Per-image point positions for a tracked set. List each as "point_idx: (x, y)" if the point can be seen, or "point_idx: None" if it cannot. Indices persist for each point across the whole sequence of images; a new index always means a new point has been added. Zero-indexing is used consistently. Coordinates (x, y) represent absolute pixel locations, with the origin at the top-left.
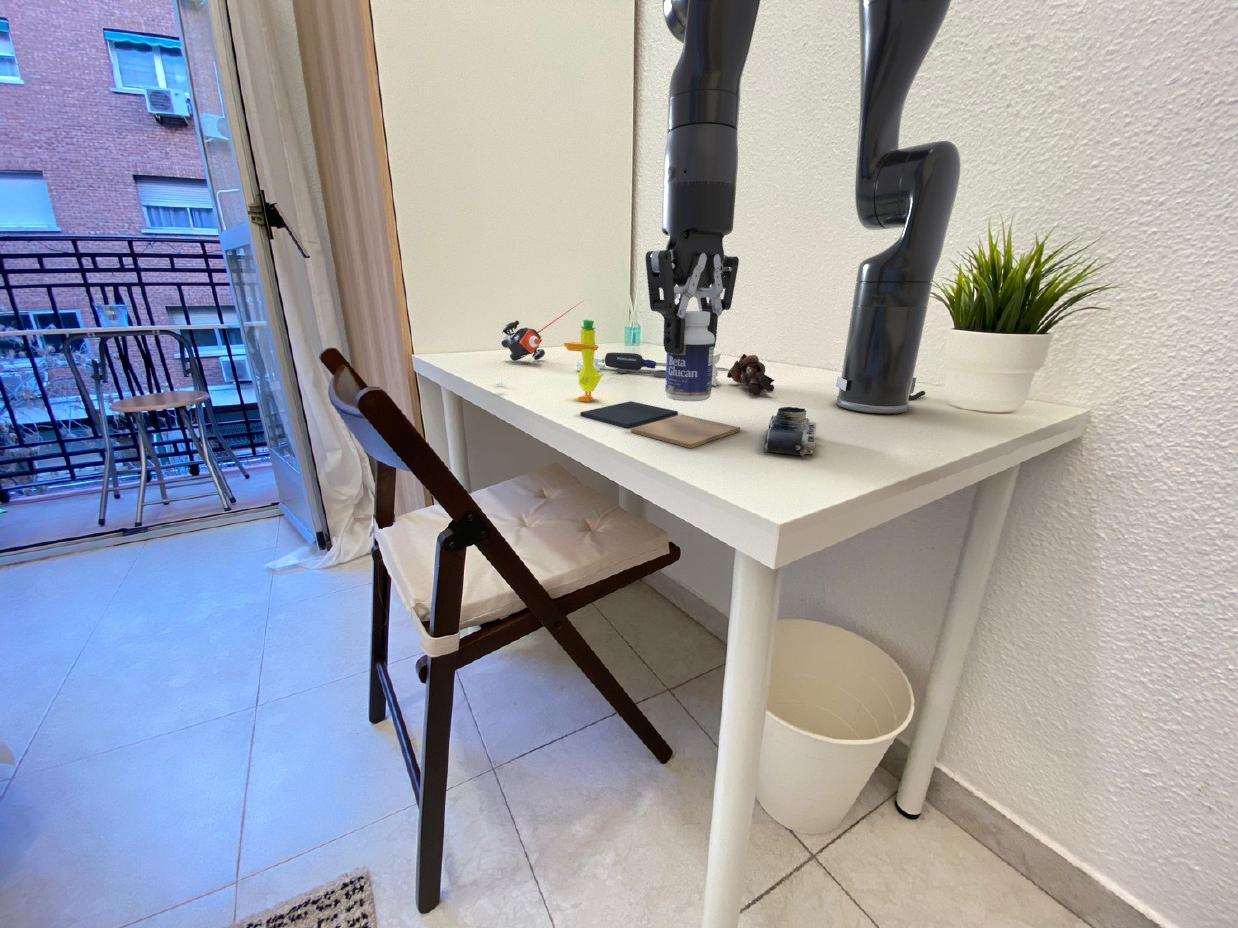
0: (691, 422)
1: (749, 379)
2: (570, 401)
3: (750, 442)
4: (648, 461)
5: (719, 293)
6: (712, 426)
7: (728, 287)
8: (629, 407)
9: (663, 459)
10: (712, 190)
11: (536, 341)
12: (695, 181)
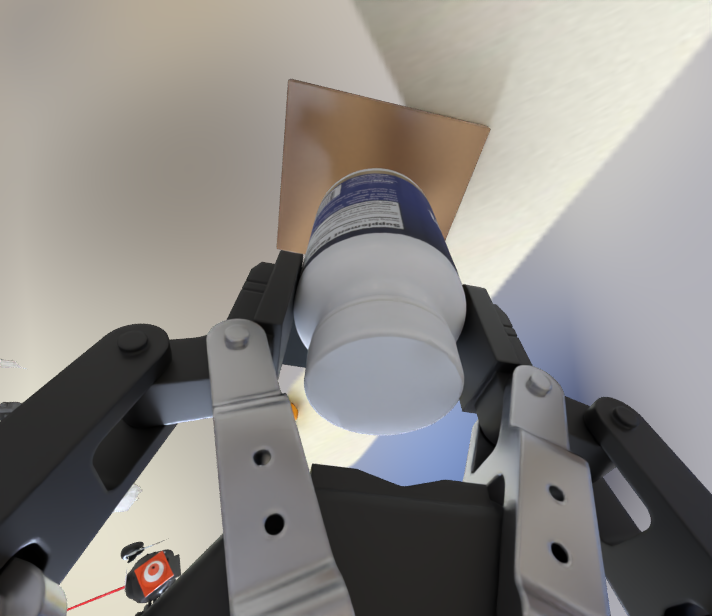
0: None
1: None
2: (308, 419)
3: (370, 4)
4: (595, 162)
5: (257, 404)
6: (326, 148)
7: (84, 436)
8: (299, 342)
9: (576, 143)
10: None
11: (156, 569)
12: None
